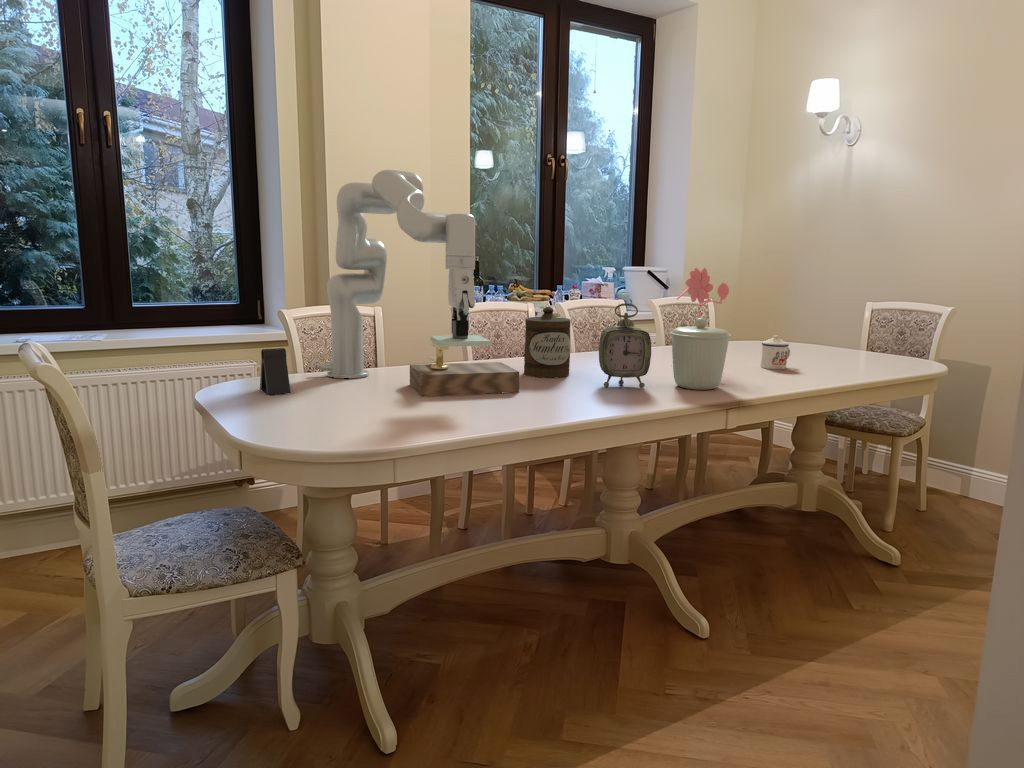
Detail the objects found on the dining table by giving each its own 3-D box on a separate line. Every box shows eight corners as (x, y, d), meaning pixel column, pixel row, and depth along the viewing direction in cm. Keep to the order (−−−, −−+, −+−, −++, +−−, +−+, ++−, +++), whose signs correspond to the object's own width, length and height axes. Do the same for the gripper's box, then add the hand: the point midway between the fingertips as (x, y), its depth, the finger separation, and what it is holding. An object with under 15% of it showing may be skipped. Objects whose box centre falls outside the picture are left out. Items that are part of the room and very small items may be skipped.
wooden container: (530, 378, 235) (532, 308, 231) (518, 370, 249) (520, 304, 245) (575, 377, 238) (578, 308, 234) (561, 369, 253) (563, 305, 249)
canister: (654, 386, 226) (658, 316, 222) (687, 379, 239) (691, 314, 235) (707, 395, 213) (712, 322, 210) (738, 388, 226) (744, 318, 222)
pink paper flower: (684, 360, 280) (689, 266, 273) (735, 371, 257) (741, 269, 251) (652, 363, 273) (656, 266, 266) (701, 375, 250) (706, 269, 243)
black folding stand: (259, 390, 208) (258, 347, 205) (281, 388, 211) (280, 346, 209) (268, 395, 200) (266, 351, 198) (290, 393, 203) (289, 350, 201)
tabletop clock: (600, 388, 220) (604, 304, 216) (596, 383, 229) (599, 301, 225) (649, 389, 221) (654, 305, 216) (642, 383, 230) (647, 302, 225)
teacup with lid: (773, 370, 261) (776, 337, 259) (754, 366, 269) (757, 334, 267) (798, 368, 266) (801, 336, 264) (778, 364, 274) (781, 333, 272)
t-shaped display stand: (452, 371, 209) (452, 341, 207) (435, 371, 207) (435, 341, 205) (439, 362, 223) (439, 334, 221) (423, 363, 221) (423, 335, 219)
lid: (441, 346, 185) (441, 323, 184) (430, 340, 197) (430, 318, 196) (491, 345, 189) (491, 323, 188) (477, 339, 201) (477, 318, 200)
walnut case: (421, 396, 203) (421, 375, 202) (409, 384, 220) (409, 364, 219) (518, 392, 212) (519, 371, 211) (500, 381, 228) (500, 362, 227)
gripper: (483, 264, 183) (482, 338, 186) (466, 262, 198) (465, 331, 202) (453, 264, 181) (453, 339, 184) (438, 262, 196) (438, 331, 199)
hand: (459, 334), depth 193 cm, fingers closed on lid, 4 cm apart
